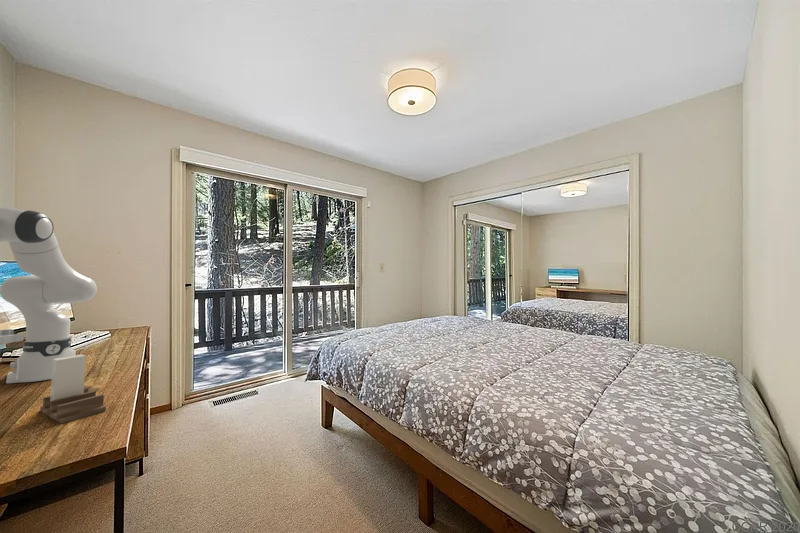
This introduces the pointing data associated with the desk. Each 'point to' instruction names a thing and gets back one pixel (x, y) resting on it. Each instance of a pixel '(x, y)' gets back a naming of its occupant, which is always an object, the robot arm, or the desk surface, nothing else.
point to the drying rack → (73, 406)
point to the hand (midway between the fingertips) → (18, 334)
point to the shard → (92, 388)
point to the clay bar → (67, 376)
